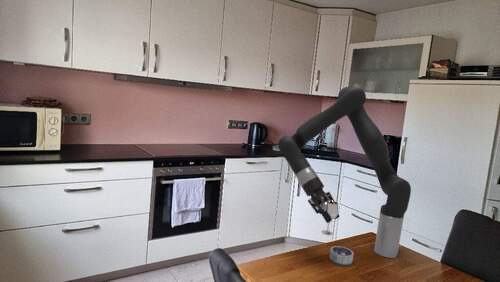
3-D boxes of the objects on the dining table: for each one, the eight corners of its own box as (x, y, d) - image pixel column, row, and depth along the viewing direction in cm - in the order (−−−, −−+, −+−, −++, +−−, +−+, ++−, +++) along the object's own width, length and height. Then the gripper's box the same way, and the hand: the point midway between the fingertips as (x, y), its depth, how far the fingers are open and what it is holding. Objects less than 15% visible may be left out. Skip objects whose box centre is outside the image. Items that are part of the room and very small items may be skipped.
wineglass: (335, 237, 124) (339, 205, 122) (319, 234, 125) (323, 203, 124) (334, 231, 130) (339, 201, 128) (319, 228, 131) (323, 198, 129)
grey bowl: (331, 253, 138) (333, 244, 138) (353, 259, 135) (354, 250, 134) (327, 262, 130) (328, 252, 130) (350, 268, 127) (351, 258, 126)
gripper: (307, 178, 124) (332, 219, 118) (325, 173, 135) (349, 211, 129) (293, 188, 128) (317, 229, 122) (311, 183, 139) (334, 220, 133)
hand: (333, 219), depth 126 cm, fingers closed on wineglass, 5 cm apart
